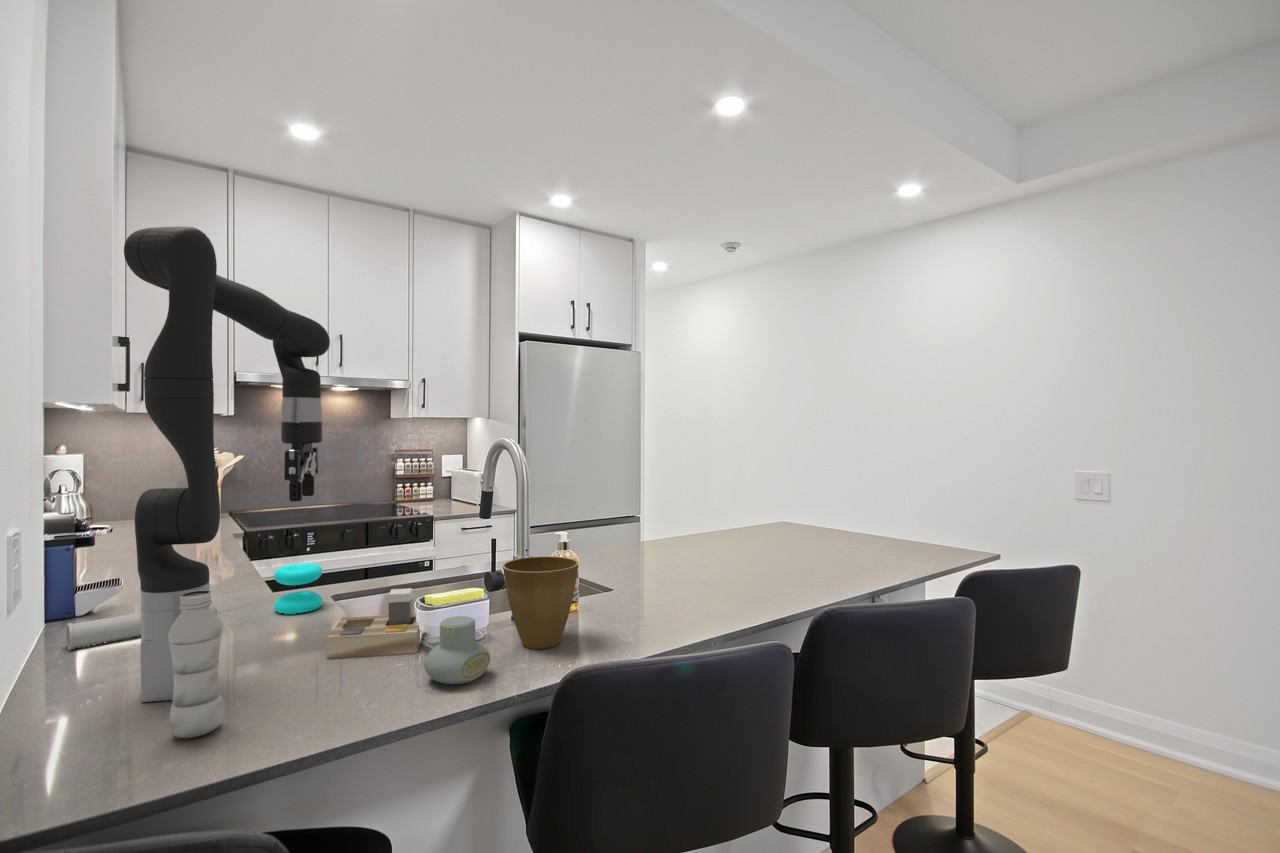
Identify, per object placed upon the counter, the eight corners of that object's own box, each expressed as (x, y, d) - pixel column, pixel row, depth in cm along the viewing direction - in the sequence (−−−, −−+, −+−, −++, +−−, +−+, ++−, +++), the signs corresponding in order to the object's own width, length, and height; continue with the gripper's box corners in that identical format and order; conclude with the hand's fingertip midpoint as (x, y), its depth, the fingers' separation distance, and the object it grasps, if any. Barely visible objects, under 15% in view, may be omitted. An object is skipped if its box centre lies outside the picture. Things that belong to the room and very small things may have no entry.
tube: (213, 600, 147) (65, 624, 129) (219, 597, 143) (69, 621, 125) (215, 624, 146) (66, 652, 128) (221, 621, 142) (70, 650, 124)
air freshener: (452, 695, 106) (451, 633, 106) (416, 684, 110) (415, 625, 110) (497, 672, 116) (497, 615, 116) (462, 663, 120) (462, 609, 120)
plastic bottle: (234, 721, 97) (233, 586, 96) (205, 744, 90) (204, 599, 90) (189, 722, 97) (188, 587, 96) (157, 745, 90) (155, 600, 89)
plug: (409, 643, 130) (409, 593, 130) (388, 644, 129) (388, 594, 129) (412, 636, 134) (412, 588, 134) (391, 638, 133) (391, 589, 133)
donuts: (327, 567, 152) (280, 574, 146) (328, 610, 152) (280, 618, 146) (314, 560, 160) (268, 566, 153) (315, 601, 160) (269, 609, 153)
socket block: (416, 652, 125) (416, 630, 125) (326, 658, 122) (326, 635, 122) (424, 632, 137) (424, 611, 137) (342, 637, 134) (342, 616, 134)
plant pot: (593, 639, 133) (593, 560, 133) (543, 662, 121) (543, 575, 120) (538, 626, 141) (538, 552, 141) (486, 646, 129) (486, 565, 129)
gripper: (293, 419, 141) (293, 494, 142) (269, 420, 127) (270, 503, 128) (330, 419, 143) (330, 494, 143) (311, 420, 129) (312, 502, 129)
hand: (302, 498), depth 135 cm, fingers open, 8 cm apart
